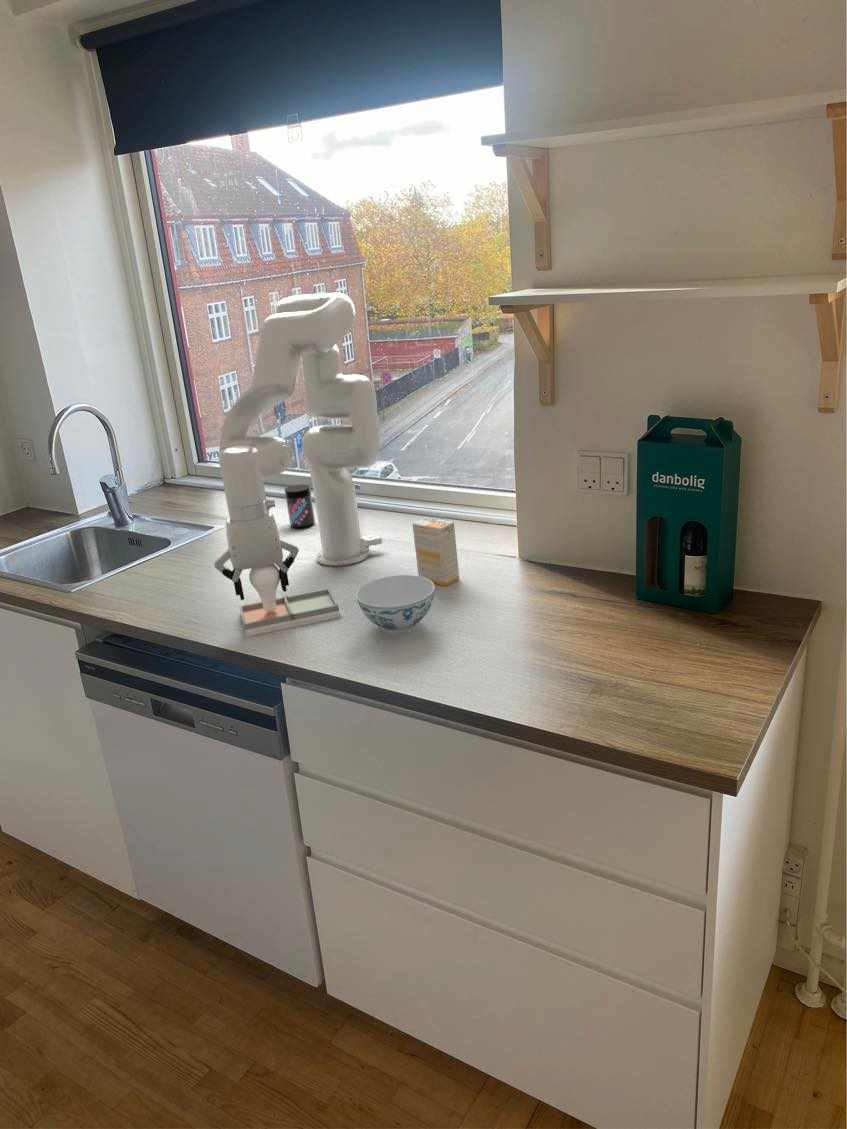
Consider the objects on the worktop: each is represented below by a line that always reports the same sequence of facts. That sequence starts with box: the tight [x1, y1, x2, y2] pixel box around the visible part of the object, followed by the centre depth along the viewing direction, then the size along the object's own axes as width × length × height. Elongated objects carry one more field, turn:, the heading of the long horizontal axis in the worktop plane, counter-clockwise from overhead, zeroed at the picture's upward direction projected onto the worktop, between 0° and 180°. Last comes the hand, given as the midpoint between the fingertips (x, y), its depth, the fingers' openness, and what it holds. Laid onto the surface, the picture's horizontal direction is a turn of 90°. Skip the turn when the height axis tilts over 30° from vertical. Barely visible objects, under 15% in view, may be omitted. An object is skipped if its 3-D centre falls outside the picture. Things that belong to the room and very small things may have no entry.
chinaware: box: [355, 574, 436, 635], centre depth 166 cm, size 15×15×8 cm
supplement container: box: [284, 484, 316, 530], centre depth 231 cm, size 7×7×10 cm
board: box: [238, 587, 342, 637], centre depth 177 cm, size 19×12×2 cm, turn 106°
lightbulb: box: [248, 564, 280, 613], centre depth 175 cm, size 6×6×11 cm
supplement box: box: [412, 516, 460, 587], centre depth 185 cm, size 8×5×13 cm, turn 47°
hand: (263, 593), depth 174 cm, fingers open, 8 cm apart
